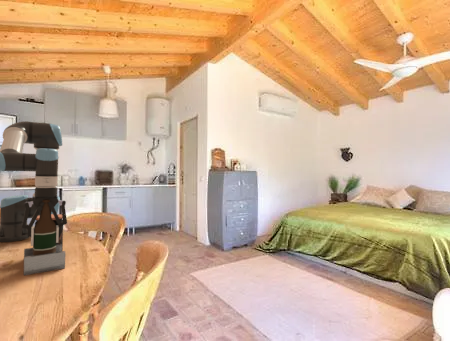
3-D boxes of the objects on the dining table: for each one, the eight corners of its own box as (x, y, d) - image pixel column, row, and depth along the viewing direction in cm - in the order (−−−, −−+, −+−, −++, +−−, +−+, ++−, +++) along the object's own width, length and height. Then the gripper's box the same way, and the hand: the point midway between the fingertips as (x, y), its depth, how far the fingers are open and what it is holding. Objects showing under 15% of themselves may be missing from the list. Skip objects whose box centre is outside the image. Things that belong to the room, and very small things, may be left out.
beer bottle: (53, 260, 103) (55, 200, 103) (29, 263, 100) (31, 200, 100) (57, 254, 110) (59, 198, 110) (35, 256, 107) (36, 198, 107)
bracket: (23, 264, 106) (24, 248, 106) (61, 258, 114) (61, 244, 114) (23, 275, 96) (24, 257, 96) (64, 268, 104) (65, 251, 104)
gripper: (13, 188, 96) (11, 250, 96) (76, 187, 108) (75, 242, 108) (14, 186, 102) (12, 245, 102) (73, 185, 114) (72, 238, 114)
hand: (44, 243), depth 105 cm, fingers closed on beer bottle, 7 cm apart
